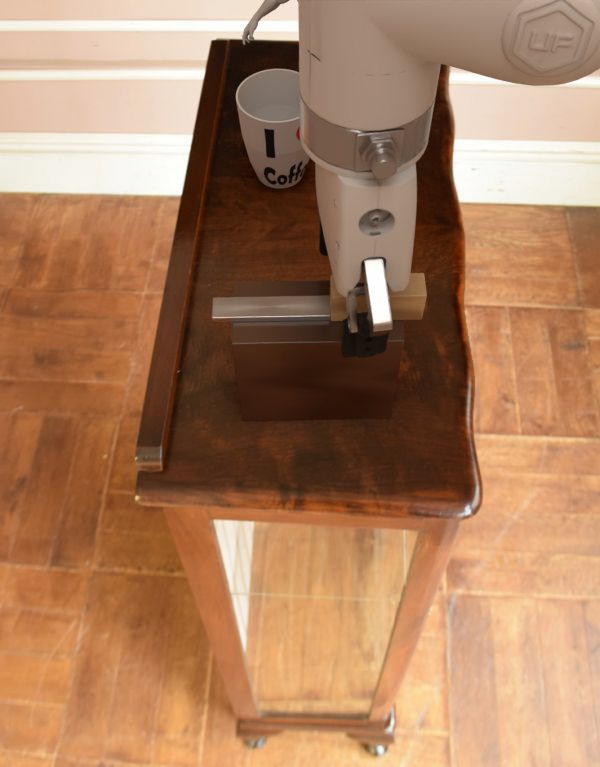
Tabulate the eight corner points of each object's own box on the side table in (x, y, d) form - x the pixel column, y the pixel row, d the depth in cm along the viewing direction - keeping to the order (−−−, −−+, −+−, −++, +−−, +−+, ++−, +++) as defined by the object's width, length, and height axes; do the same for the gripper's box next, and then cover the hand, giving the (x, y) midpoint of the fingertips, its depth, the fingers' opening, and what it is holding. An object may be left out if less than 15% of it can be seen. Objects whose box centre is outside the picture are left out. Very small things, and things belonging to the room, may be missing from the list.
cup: (258, 207, 82) (252, 131, 73) (232, 157, 86) (224, 80, 77) (328, 186, 83) (331, 109, 75) (300, 138, 87) (300, 60, 79)
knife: (419, 297, 60) (424, 272, 58) (422, 320, 59) (427, 295, 57) (213, 300, 60) (209, 276, 58) (212, 323, 59) (208, 299, 57)
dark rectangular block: (385, 361, 71) (398, 278, 61) (390, 418, 68) (404, 340, 58) (244, 364, 71) (233, 281, 61) (242, 421, 68) (231, 344, 58)
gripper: (469, 217, 40) (425, 389, 54) (397, 16, 49) (376, 210, 63) (325, 234, 39) (320, 403, 54) (279, 28, 48) (285, 221, 63)
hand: (350, 299), depth 59 cm, fingers open, 9 cm apart
